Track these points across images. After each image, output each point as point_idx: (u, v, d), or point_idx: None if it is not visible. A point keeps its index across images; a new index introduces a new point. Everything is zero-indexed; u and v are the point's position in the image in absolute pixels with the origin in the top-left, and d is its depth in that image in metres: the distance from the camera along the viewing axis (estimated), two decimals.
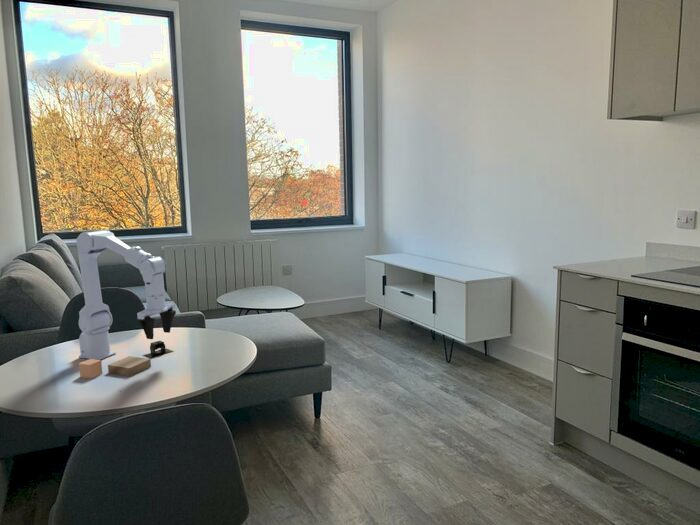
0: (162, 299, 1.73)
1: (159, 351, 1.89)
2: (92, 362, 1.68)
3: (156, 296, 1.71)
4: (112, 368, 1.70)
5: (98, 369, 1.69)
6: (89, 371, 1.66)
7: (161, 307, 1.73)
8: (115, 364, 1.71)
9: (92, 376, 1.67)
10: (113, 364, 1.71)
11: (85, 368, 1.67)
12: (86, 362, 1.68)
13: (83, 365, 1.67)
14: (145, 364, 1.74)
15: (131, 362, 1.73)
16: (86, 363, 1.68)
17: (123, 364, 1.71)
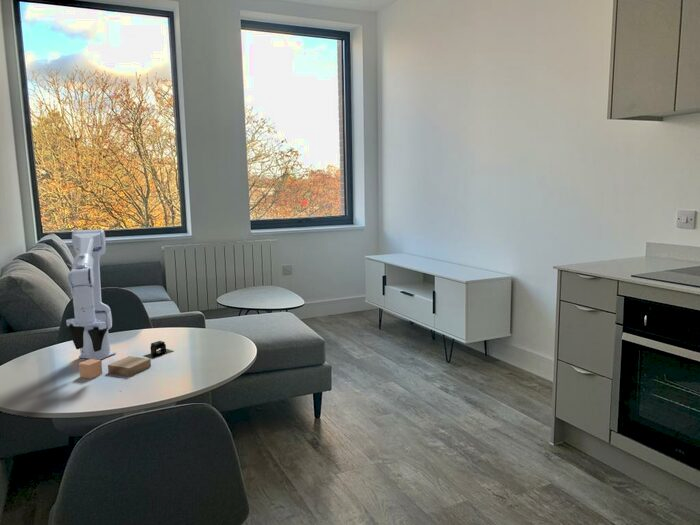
0: (76, 313, 1.64)
1: (159, 351, 1.89)
2: (92, 362, 1.68)
3: None
4: (112, 368, 1.70)
5: (98, 369, 1.69)
6: (89, 371, 1.66)
7: (76, 321, 1.65)
8: (115, 364, 1.71)
9: (92, 376, 1.67)
10: (113, 364, 1.71)
11: (85, 368, 1.67)
12: (86, 362, 1.68)
13: (83, 365, 1.67)
14: (145, 364, 1.74)
15: (131, 362, 1.73)
16: (86, 363, 1.68)
17: (123, 364, 1.71)
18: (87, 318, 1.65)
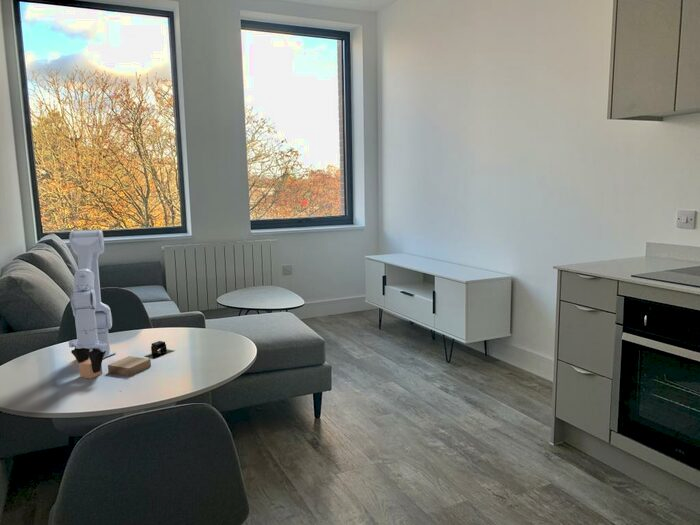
0: (79, 335, 1.65)
1: (160, 352, 1.89)
2: None
3: (76, 330, 1.66)
4: (112, 368, 1.70)
5: None
6: (89, 371, 1.66)
7: (78, 343, 1.66)
8: (115, 364, 1.71)
9: (92, 376, 1.67)
10: (113, 364, 1.71)
11: (85, 367, 1.67)
12: (86, 362, 1.68)
13: (83, 365, 1.67)
14: (145, 364, 1.74)
15: (131, 362, 1.73)
16: (86, 362, 1.68)
17: (123, 364, 1.71)
18: (90, 340, 1.66)
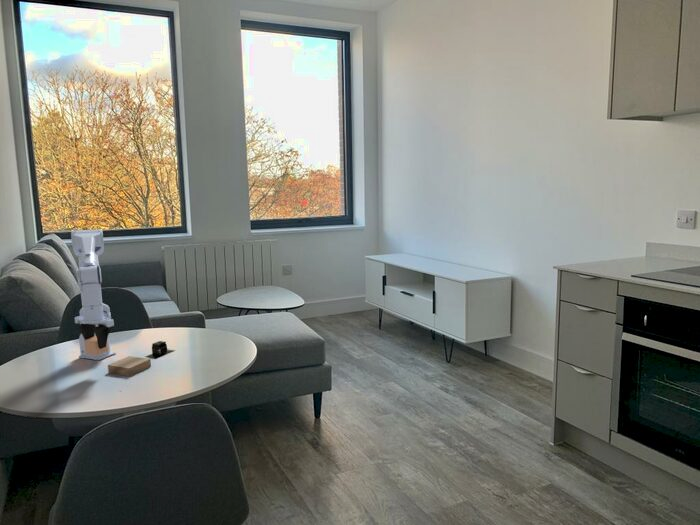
0: (84, 310, 1.65)
1: (161, 352, 1.89)
2: None
3: (82, 305, 1.66)
4: (112, 368, 1.70)
5: None
6: (94, 347, 1.66)
7: (84, 318, 1.65)
8: (115, 364, 1.71)
9: (97, 353, 1.67)
10: (113, 364, 1.71)
11: (91, 344, 1.66)
12: (91, 339, 1.68)
13: (88, 342, 1.67)
14: (145, 364, 1.74)
15: (131, 362, 1.73)
16: (91, 339, 1.67)
17: (123, 364, 1.71)
18: (96, 315, 1.65)
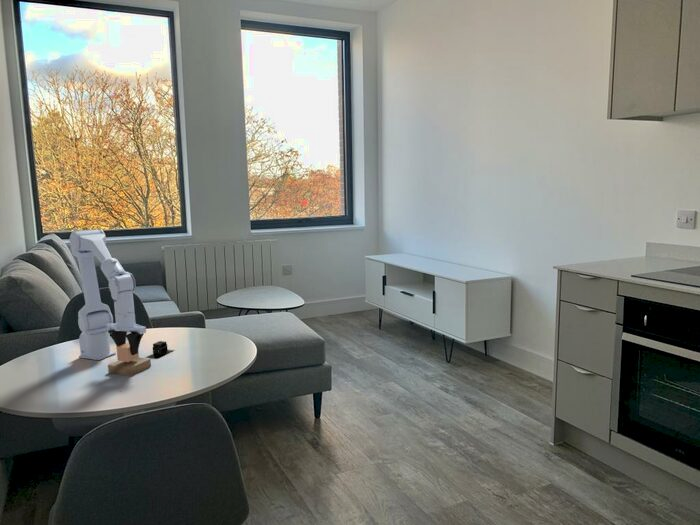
0: (117, 318, 1.69)
1: (162, 352, 1.89)
2: (129, 346, 1.72)
3: (115, 313, 1.70)
4: (113, 368, 1.70)
5: None
6: (127, 354, 1.70)
7: (117, 326, 1.69)
8: (115, 364, 1.71)
9: (129, 359, 1.71)
10: (113, 364, 1.71)
11: (123, 351, 1.70)
12: (123, 346, 1.72)
13: (121, 348, 1.70)
14: (145, 364, 1.74)
15: (131, 362, 1.73)
16: (123, 346, 1.71)
17: (123, 364, 1.71)
18: (128, 323, 1.69)
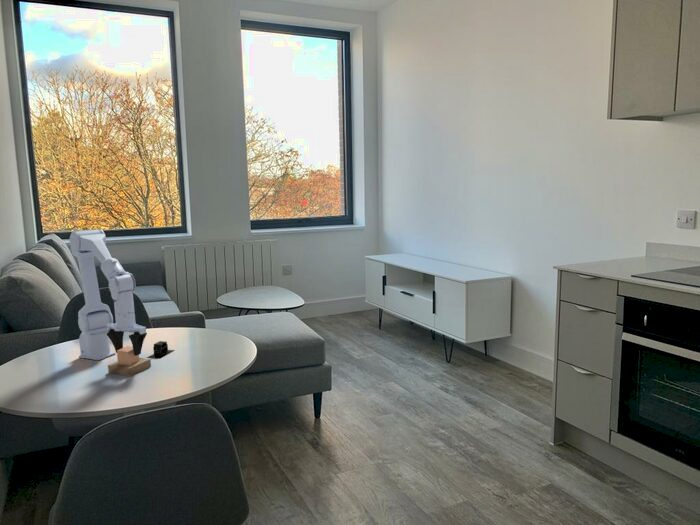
0: (117, 318, 1.69)
1: (162, 352, 1.89)
2: (130, 349, 1.72)
3: (115, 313, 1.70)
4: (113, 368, 1.70)
5: (135, 356, 1.73)
6: (128, 358, 1.70)
7: (117, 326, 1.69)
8: (115, 364, 1.71)
9: (130, 363, 1.71)
10: (113, 364, 1.71)
11: (124, 355, 1.70)
12: (124, 349, 1.72)
13: (121, 352, 1.71)
14: (145, 364, 1.74)
15: None
16: (124, 350, 1.71)
17: (123, 365, 1.71)
18: (128, 323, 1.69)
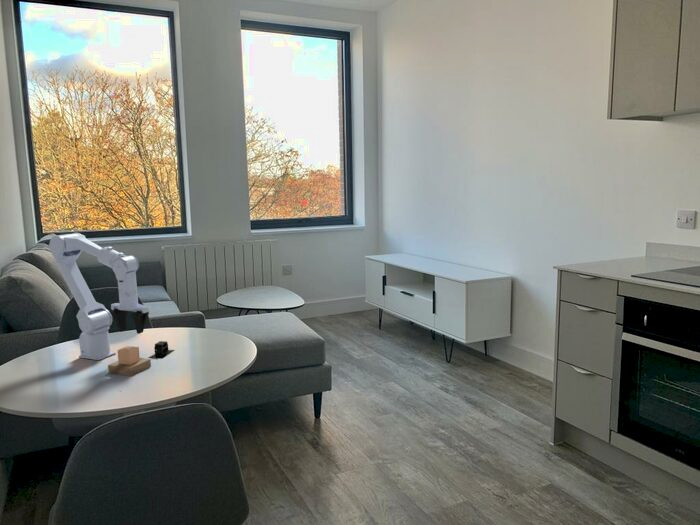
0: (121, 298, 1.77)
1: (163, 352, 1.89)
2: (131, 349, 1.72)
3: None
4: (113, 368, 1.70)
5: (136, 355, 1.73)
6: (129, 357, 1.70)
7: (121, 305, 1.78)
8: (115, 364, 1.71)
9: (131, 362, 1.71)
10: (113, 364, 1.71)
11: (125, 354, 1.71)
12: (124, 349, 1.72)
13: (122, 352, 1.71)
14: (145, 364, 1.74)
15: None
16: (125, 349, 1.71)
17: (123, 365, 1.71)
18: (131, 302, 1.78)
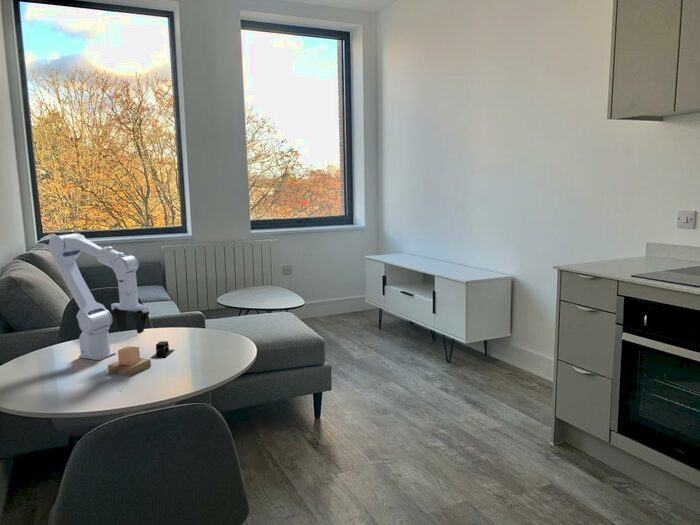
0: (121, 297, 1.77)
1: (164, 351, 1.89)
2: (131, 349, 1.72)
3: (119, 293, 1.78)
4: (113, 368, 1.70)
5: (137, 356, 1.73)
6: (130, 357, 1.70)
7: (121, 305, 1.78)
8: (115, 364, 1.71)
9: (132, 362, 1.71)
10: (113, 364, 1.71)
11: (125, 354, 1.71)
12: (125, 349, 1.72)
13: (123, 352, 1.71)
14: (145, 364, 1.74)
15: None
16: (125, 350, 1.71)
17: (123, 365, 1.71)
18: (132, 302, 1.78)
